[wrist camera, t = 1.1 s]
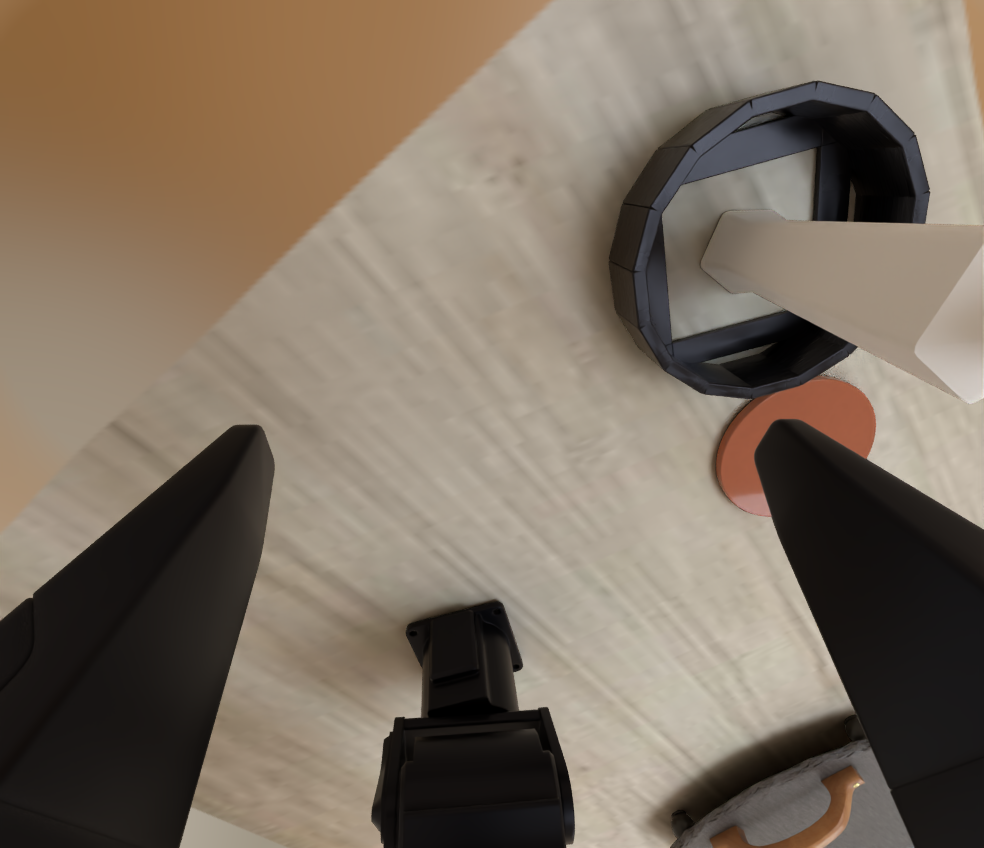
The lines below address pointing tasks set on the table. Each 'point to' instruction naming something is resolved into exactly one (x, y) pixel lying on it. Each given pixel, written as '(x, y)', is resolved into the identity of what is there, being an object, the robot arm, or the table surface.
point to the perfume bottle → (868, 287)
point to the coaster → (814, 402)
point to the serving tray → (806, 807)
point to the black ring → (840, 158)
